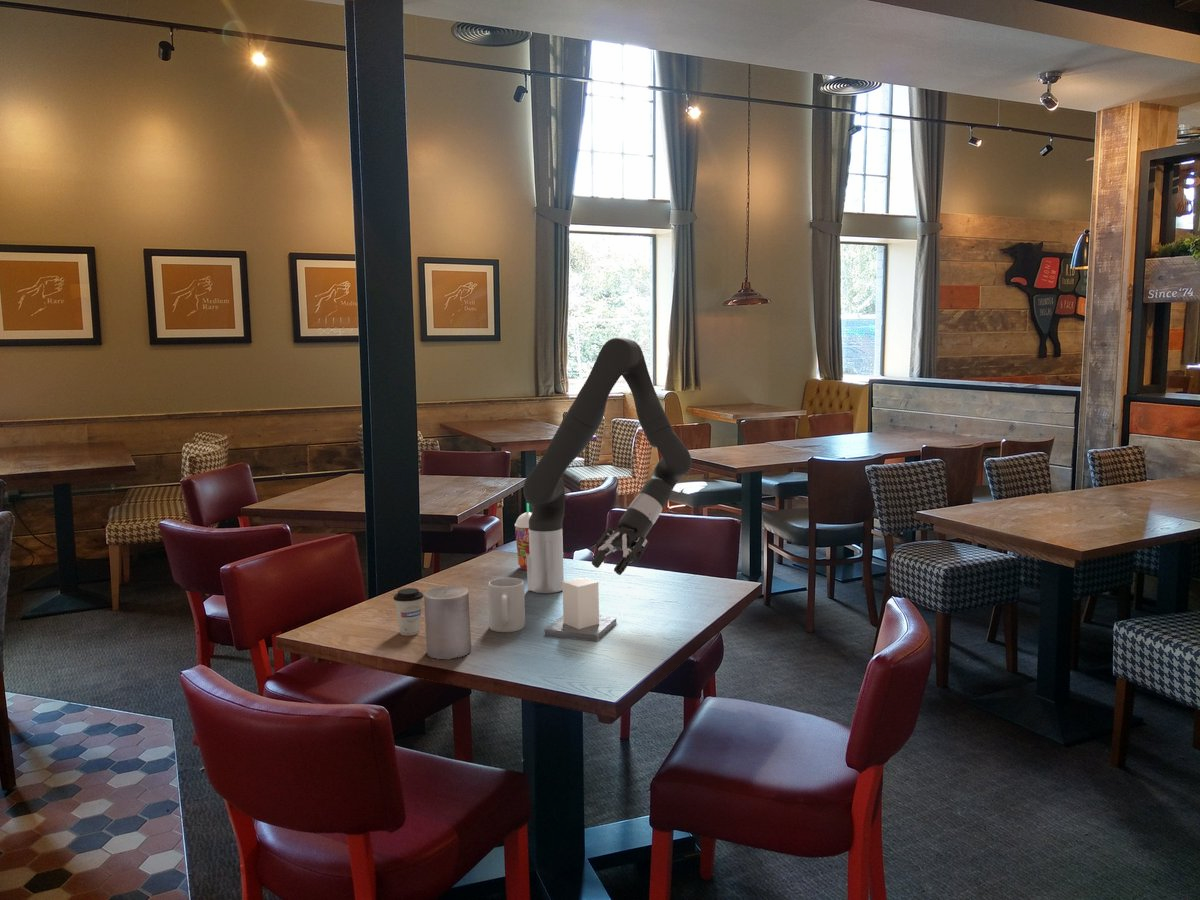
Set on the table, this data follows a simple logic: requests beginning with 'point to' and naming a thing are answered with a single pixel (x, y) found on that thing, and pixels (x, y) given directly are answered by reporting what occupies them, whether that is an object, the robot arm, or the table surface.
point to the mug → (506, 605)
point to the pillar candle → (447, 622)
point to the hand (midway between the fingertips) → (605, 569)
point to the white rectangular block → (580, 602)
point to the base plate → (584, 633)
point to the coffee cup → (409, 610)
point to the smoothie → (523, 538)
